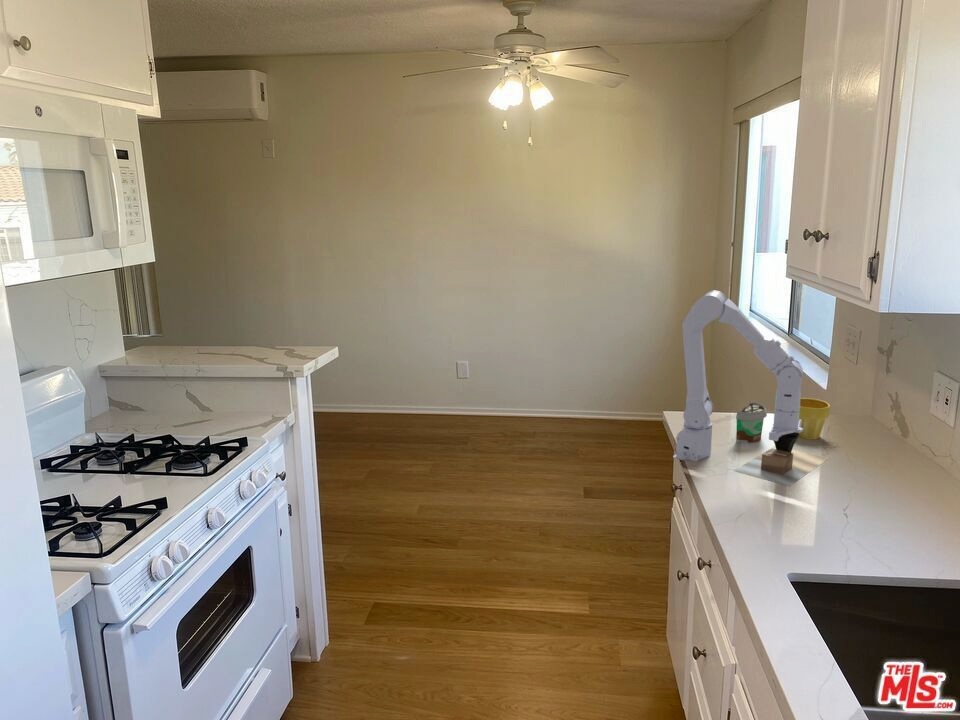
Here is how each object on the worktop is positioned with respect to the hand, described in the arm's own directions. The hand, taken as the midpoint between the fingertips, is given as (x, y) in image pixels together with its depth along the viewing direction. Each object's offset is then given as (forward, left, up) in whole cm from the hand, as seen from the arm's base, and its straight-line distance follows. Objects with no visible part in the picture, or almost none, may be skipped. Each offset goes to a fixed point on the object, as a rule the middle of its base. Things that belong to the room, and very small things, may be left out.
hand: (783, 460), depth 183 cm
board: (0, 0, -2) cm, 2 cm away
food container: (+13, +14, -2) cm, 19 cm away
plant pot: (+28, +5, -2) cm, 28 cm away
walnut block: (-4, 0, -1) cm, 4 cm away
